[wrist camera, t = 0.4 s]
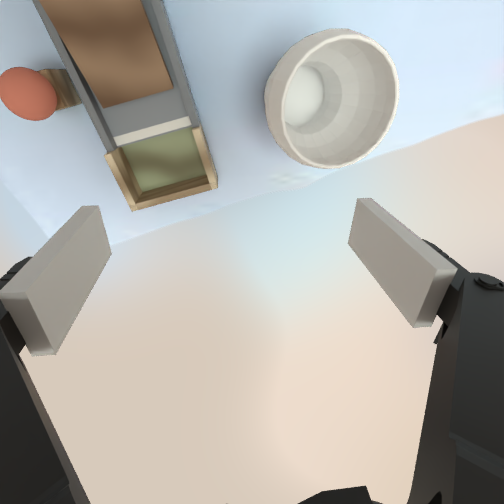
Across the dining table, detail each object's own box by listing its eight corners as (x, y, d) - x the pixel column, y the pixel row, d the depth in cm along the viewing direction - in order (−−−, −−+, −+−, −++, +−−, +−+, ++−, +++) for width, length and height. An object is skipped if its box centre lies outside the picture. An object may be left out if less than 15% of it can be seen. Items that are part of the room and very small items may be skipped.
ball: (4, 74, 28) (-27, 74, 25) (48, 61, 28) (22, 60, 25) (33, 122, 31) (8, 129, 27) (73, 111, 31) (54, 116, 27)
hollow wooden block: (35, 78, 32) (11, 78, 28) (65, 69, 32) (45, 69, 28) (54, 111, 34) (33, 116, 30) (82, 103, 34) (65, 107, 30)
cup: (239, 122, 37) (252, 149, 24) (273, 23, 32) (313, -9, 19) (313, 153, 40) (359, 191, 27) (354, 67, 35) (435, 64, 22)
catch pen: (115, 146, 37) (103, 155, 33) (200, 122, 36) (199, 128, 33) (139, 198, 40) (132, 211, 37) (217, 176, 40) (217, 187, 36)
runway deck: (21, -50, 27) (1, -63, 25) (135, -86, 27) (127, -103, 24) (115, 146, 37) (107, 152, 34) (200, 122, 36) (199, 126, 34)
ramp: (30, -57, 26) (-13, -87, 21) (116, -84, 26) (93, -121, 21) (105, 107, 33) (87, 113, 28) (174, 88, 33) (167, 90, 28)
